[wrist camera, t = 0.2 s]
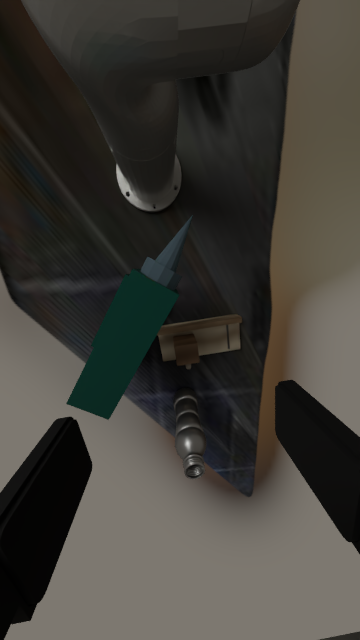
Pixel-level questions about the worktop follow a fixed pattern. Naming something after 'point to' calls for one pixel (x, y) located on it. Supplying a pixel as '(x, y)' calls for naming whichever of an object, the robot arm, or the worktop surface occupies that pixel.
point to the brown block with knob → (186, 350)
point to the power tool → (129, 330)
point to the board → (203, 335)
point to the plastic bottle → (189, 433)
